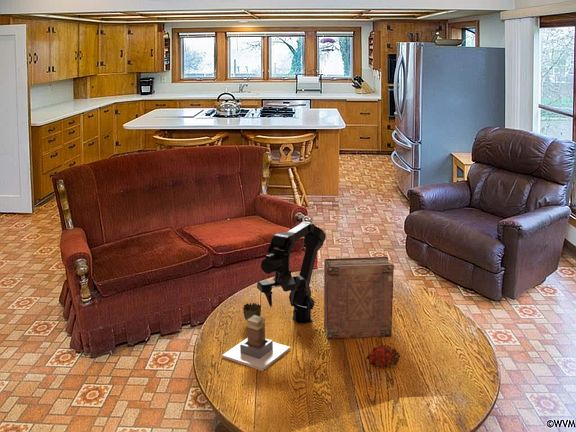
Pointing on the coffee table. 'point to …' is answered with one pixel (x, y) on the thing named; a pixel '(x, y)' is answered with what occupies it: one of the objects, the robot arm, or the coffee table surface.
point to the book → (358, 297)
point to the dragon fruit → (383, 356)
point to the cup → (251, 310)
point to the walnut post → (256, 331)
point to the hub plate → (256, 354)
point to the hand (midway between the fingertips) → (281, 304)
